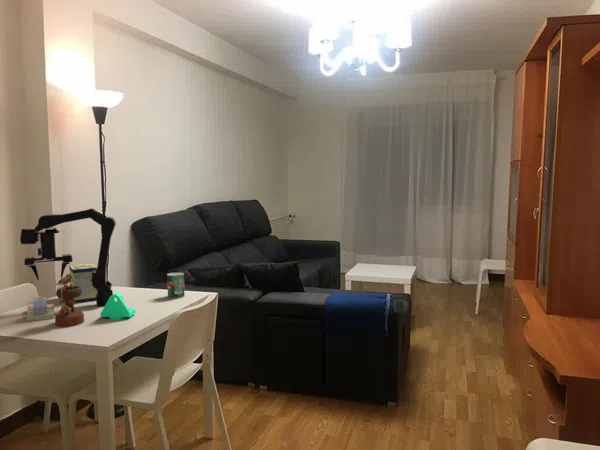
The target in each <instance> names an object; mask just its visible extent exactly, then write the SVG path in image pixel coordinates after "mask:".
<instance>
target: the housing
mask: <svg viewBox="0 0 600 450" xmlns="http://www.w3.org/2000/svg"><path fill="white" fill-rule="evenodd" d="M47 304H48V303H47V296H38V297H33V305H32V306H33V313H34V315H40V314H47Z"/></svg>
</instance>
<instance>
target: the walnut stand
mask: <svg viewBox="0 0 600 450" xmlns="http://www.w3.org/2000/svg"><path fill="white" fill-rule="evenodd" d="M33 306H34V305H28V306H27V311H33ZM53 308H54V309H55V304H54V303H47V309H53Z"/></svg>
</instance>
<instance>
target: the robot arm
mask: <svg viewBox="0 0 600 450" xmlns="http://www.w3.org/2000/svg"><path fill="white" fill-rule="evenodd" d="M86 219H91V220H92V221H94V222H95V223H96V224H98V225H100V229H101V230H100V233H101V242H100V246H99V247H100V248H99V255H98V259H97V260H98V261H97V266H96V268H97V270H96V271H95V270H94V271H93V272H92V280H91V282H92V286H93V287H94V288H95V289H97V294H96V300H95V302H96V305H97V306H98V307H104V306H105V305H106V303H107V301H108V300H109V298H110V296H112V295H113V294H114V293H113V289H112V287H113V283H112V282H110V281H109V280H108V272H107V267H108V266H107V265H108V259H109V254H110V246H111V239H112V236H113V233H114V232H115V231H114V230H115V227H116V225H117V222H116V220H115V218H114V217H111V216H107V215H105V214H104V213H101V212H99V211H98V210H96V209H95V208H93V207H92V208H88V209H85V210H79V211H73V212H69V213H68V212H67V213H63V214H62V213H61V214H58V213H57V214H56V213H55V214H53V213H52V214H51V213H49V214H48V213H47V214H45V215H42V216H40V217H39V218H38V222H37V225H35V227H34V228H21V230H20V232H21V233H20V237H19V240H20V244H21V245H22V246H23V245H25V246H27V245H37V244H38V243H39V242H40V247H38V248H37V256H38V257H36V256H25V258H24V260H23V263H24V266H27V267H28V268H31V269H32V271H33V273H34V275H35V277H36V280H37V281H39V280H40V278H39V272H38V268H37V263H48V262H61V269H60V279H62V278H63V276H64V272H65V270H66V268H67V265H70V263H72V262H73V255H72V254H70V253H68V254H61V255H62V256H57V251H56V235H55V234H59V233H60V230H59V229H57V228H56V226H58V225H61V224H64V223H70V222H73V221H79V220H86ZM50 228H51V229H50ZM44 229H45V231H43V230H44ZM39 256H40V257H39Z"/></svg>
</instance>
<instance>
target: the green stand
mask: <svg viewBox="0 0 600 450" xmlns="http://www.w3.org/2000/svg"><path fill="white" fill-rule="evenodd" d="M52 319H55V307H54V308H53V309H47V314H40V315H34V313H33V311H28V310H27V311H26V322H33V321H34V320H35V321H42V320H52Z"/></svg>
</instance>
